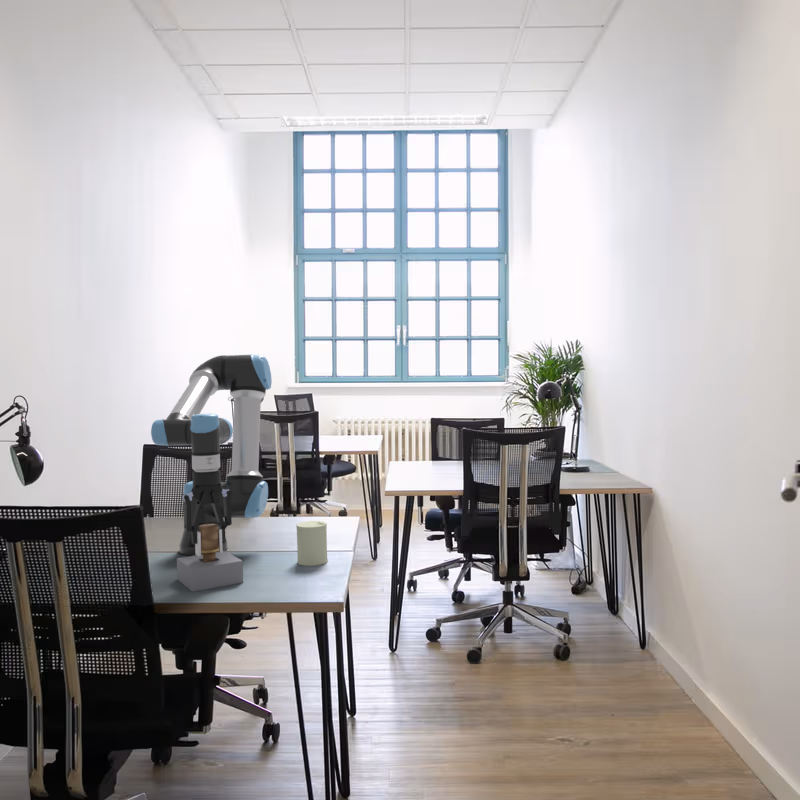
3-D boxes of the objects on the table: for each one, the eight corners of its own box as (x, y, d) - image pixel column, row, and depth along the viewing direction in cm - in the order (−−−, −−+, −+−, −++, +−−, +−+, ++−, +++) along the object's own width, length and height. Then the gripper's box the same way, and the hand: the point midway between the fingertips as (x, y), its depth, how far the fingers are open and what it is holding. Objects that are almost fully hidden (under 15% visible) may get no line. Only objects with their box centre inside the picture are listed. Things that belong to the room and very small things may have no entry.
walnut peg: (216, 568, 207) (214, 522, 207) (222, 572, 203) (221, 526, 202) (197, 571, 204) (195, 525, 204) (203, 576, 200) (201, 528, 199)
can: (327, 565, 218) (326, 525, 217) (296, 566, 217) (295, 526, 217) (328, 557, 227) (327, 518, 226) (298, 558, 226) (297, 519, 226)
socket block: (225, 571, 213) (225, 550, 213) (243, 582, 202) (242, 560, 202) (177, 579, 206) (176, 558, 206) (192, 591, 194) (191, 569, 194)
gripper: (176, 474, 194) (179, 561, 195) (243, 468, 204) (245, 551, 205) (168, 471, 201) (171, 555, 202) (233, 465, 211) (236, 545, 212)
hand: (209, 553), depth 204 cm, fingers closed on walnut peg, 5 cm apart
